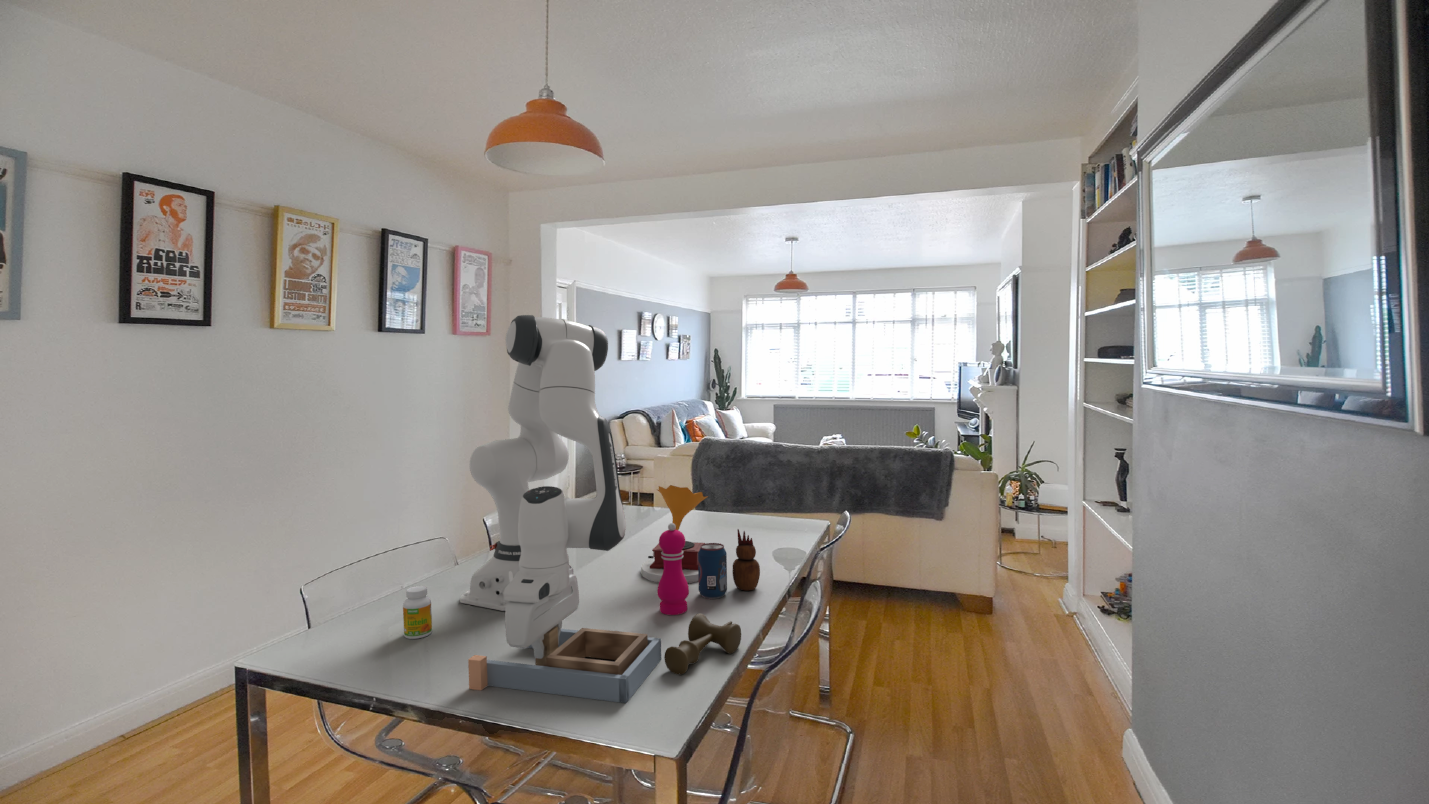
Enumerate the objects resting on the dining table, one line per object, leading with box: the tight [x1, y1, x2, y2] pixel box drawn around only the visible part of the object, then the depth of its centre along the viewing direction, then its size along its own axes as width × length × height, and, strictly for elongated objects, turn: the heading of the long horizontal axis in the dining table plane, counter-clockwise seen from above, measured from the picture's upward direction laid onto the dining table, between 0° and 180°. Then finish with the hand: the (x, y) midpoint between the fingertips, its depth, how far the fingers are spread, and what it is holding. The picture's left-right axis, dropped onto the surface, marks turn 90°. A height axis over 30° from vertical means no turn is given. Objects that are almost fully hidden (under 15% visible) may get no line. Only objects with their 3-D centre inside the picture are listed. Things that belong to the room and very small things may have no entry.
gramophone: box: [640, 484, 709, 584], centre depth 176 cm, size 20×20×25 cm
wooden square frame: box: [534, 627, 649, 675], centre depth 117 cm, size 19×13×7 cm
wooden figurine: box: [732, 528, 761, 592], centre depth 161 cm, size 7×6×15 cm
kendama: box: [663, 613, 742, 676], centre depth 124 cm, size 6×10×20 cm
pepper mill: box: [656, 522, 690, 616], centre depth 147 cm, size 7×7×20 cm
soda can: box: [697, 542, 728, 600], centre depth 157 cm, size 7×7×12 cm
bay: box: [467, 628, 662, 704], centre depth 118 cm, size 28×20×5 cm
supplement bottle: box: [402, 585, 433, 640], centre depth 136 cm, size 5×5×10 cm
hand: (546, 651), depth 119 cm, fingers closed on wooden square frame, 3 cm apart
